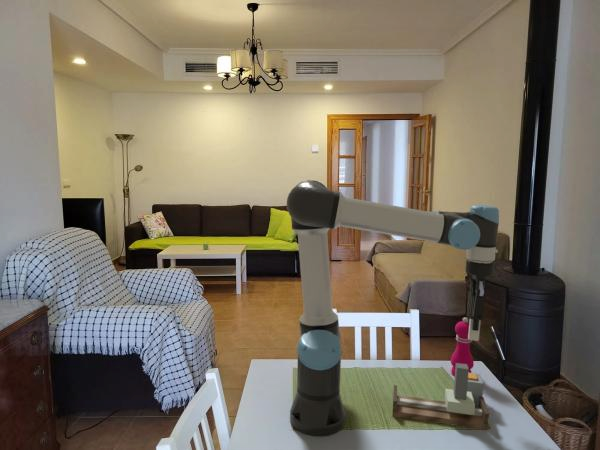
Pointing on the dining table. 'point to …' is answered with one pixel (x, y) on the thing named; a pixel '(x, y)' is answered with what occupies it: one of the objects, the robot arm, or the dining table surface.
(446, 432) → the dining table surface
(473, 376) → the button
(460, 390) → the carriage
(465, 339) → the pepper mill
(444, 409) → the rail board
